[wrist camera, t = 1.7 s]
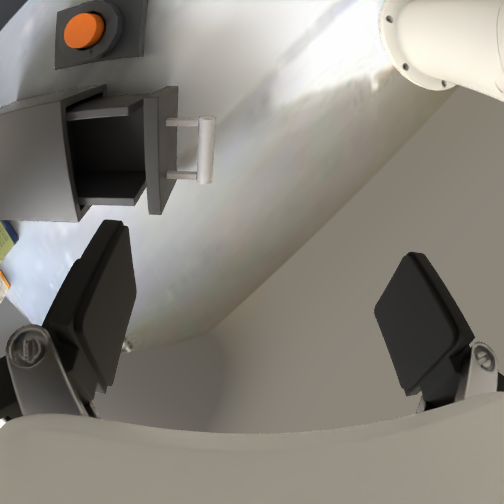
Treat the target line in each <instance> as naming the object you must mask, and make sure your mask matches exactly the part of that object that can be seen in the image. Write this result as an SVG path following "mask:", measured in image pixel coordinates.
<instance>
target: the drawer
mask: <svg viewBox="0 0 504 504" xmlns="http://www.w3.org/2000/svg"><path fill="white" fill-rule="evenodd" d="M177 105H178V86H167V87H164V88H162V89H160V90H158V91H156V92H154V93H152V94H135V95H120V96H109V97H99V98H91V99H84V100H81V101H79V102H77V103H74V104H72V105H70V106H67V107H65V109H66V121H67V132H68V141H69V149H70V156H71V163H72V169H73V176H74V181H75V187H76V192H77V197H78V202H79V205H122V206H135V205H136V203H137V201H138V200H139V198H140V196H141V195H142V193H143V191H144V190H145V188H146V186H147V198H148V210H149V214H153V215H161V214H162V212H163V210H164V207H165V205H166V203H167V200H168V198H169V196H170V194H171V191H172V189H173V187H174V185H175V183H176V180H177V179H189V180H197V182H198V183H200V184H210V183H211V182H212V177H213V158H214V142H215V127H216V117H213V116H201V117H199V119H191V118H177ZM177 126H194V127H198V126H199V133H198V159H197V172H190V171H177Z"/></svg>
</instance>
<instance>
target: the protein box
mask: <svg viewBox="0 0 504 504" xmlns="http://www.w3.org/2000/svg"><path fill="white" fill-rule="evenodd" d="M18 240H19V238H18V236H17V235H16V233H15V232H14V230H13V228H12V227H11V225H10V223H9V222H8V220H0V263H1V261H2V260H3V259H4V257H5V256H6V255H7V253H8V252H9V251H10V249H11V248H12V247H13V246H14V245H15V244H16V242H17V241H18Z"/></svg>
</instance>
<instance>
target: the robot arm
mask: <svg viewBox="0 0 504 504" xmlns="http://www.w3.org/2000/svg"><path fill="white" fill-rule="evenodd" d="M386 18H387V19H388V21H387V20H386ZM379 32H380V37H381V41H382V44H383V47H384V50H385V52H386V54H387V56H388V58H389V59H390V61H391V62H392V64H393V65H394V66H395V68H396V69H397V70H398V71H399V72H400V73H401V74H402V75H403V76H404V77H405V78H407V79H408V80H409V81H411V82H412V83H414V84H416V85H418V86H421V87H424V88H426V89H431V90H446V89H449V88H452V87H454V86H455V85H457V84H458V85H461V86H464V87H467V88H469V89H472V90H475V91H478V92H480V93H483V94H486V95H488V96H491V97H493V98H496V99H498V100H500V101H503V102H504V0H386V1H385V2H384V4H383V6H382V9H381V12H380V17H379ZM402 65H403V66H404V67H403V66H402ZM135 299H136V283H135V276H134V269H133V262H132V254H131V246H130V237H129V228H128V226H124V225H123V222H122V221H118V220H104V221H103V222H102V223H101V225H100V227H99V228H98V230H97V231H96V233H95V235H94V236H93V238H92V239H91V241H90V243H89V244H88V246H87V248H86V249H85V251H84V253H83V255H82V256H81V258H80V259H78V260H76V261H75V263H74V264H73V266H72V267H71V269H70V271H69V273H68V275H67V276H66V278H65V280H64V282H63V284H62V286H61V288H60V289H59V291H58V293H57V295H56V297H55V299H54V301H53V303H52V305H51V307H50V309H49V311H48V313H47V315H46V318H45V320H44V322H43V324H42V326H39V325H30V324H29V325H26V326H23V327H21V328H19V329H17V330H16V331H15V332H14V333H13V334H12V335H11V337H10V338H9V340H8V342H7V346H6V356H4V357H2V358H0V504H504V376H503V375H502V374H500V373H499V372H498V361H497V358H496V355H495V354H494V352H493V350H492V349H491V348H490V347H489V346H488V345H487V344H485V343H482V342H476V343H475V344H474V345H473V346H472V347H471V348H470V346H469V344H470V343H471V342H472V341H473V339H474V338H475V336H474V334H473V332H472V331H471V329H470V327H469V325H468V323H467V321H466V320H465V318H464V316H463V314H462V313H461V311H460V309H459V307H458V306H457V304H456V302H455V301H454V299H453V298H452V296H451V294H450V293H449V291H448V289H447V288H446V286H445V284H444V283H443V281H442V280H441V278H440V277H439V275H438V274H437V272H436V271H435V269H434V268H433V266H432V265H431V263H430V262H429V260H428V259H427V257H426V256H425V255H424V254H422V253H416V252H409V253H408V254H407V255H406V256H404V257H403V258H402V260H401V262H400V264H399V266H398V268H397V270H396V271H395V273H394V275H393V277H392V278H391V280H390V282H389V284H388V285H387V287H386V289H385V291H384V293H383V294H382V296H381V298H380V299H379V301H378V302H377V304H376V306H375V309H374V313H375V317H376V319H377V322H378V324H379V327H380V330H381V332H382V335H383V337H384V340H385V343H386V345H387V348H388V351H389V353H390V356H391V359H392V362H393V365H394V367H395V370H396V373H397V376H398V379H399V382H400V385H401V387H402V388H403V389H404V391H405V393H406V396H411V395H415V394H418V393H419V392H420V391H422V396H421V400H420V403H419V406H418V408H417V412H416V414H413V415H409V416H404V417H400V418H395V419H391V420H386V421H381V422H376V423H370V424H364V425H359V426H352V427H345V428H337V429H329V430H320V431H308V432H296V433H277V434H276V433H275V434H226V433H206V432H193V431H182V430H171V429H162V428H154V427H146V426H140V425H134V424H127V423H122V422H116V421H109V420H103V419H101V418H100V416H99V414H98V413H97V411H96V409H95V407H94V406H93V403H92V402H91V401H92V400H93V399H94V395H95V392H99V393H104V394H105V393H106V389H107V386H112V384H113V381H114V377H115V373H116V368H117V365H118V361H119V356H120V353H121V349H122V345H123V341H124V337H125V334H126V330H127V326H128V323H129V319H130V316H131V313H132V309H133V306H134V302H135Z"/></svg>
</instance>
